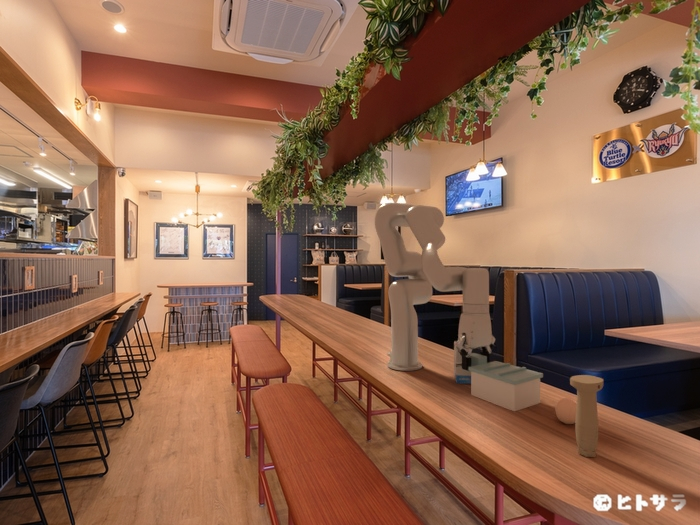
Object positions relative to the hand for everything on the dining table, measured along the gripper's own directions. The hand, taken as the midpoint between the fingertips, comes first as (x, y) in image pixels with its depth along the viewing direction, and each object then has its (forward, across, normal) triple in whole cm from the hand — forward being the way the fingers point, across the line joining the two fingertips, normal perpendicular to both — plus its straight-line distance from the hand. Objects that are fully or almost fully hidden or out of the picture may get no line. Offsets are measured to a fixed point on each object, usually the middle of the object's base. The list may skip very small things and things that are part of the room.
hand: (475, 367), depth 115 cm
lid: (-1, 0, +7) cm, 8 cm away
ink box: (+7, -3, -8) cm, 11 cm away
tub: (+6, 0, +10) cm, 12 cm away
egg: (+7, +1, +28) cm, 29 cm away
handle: (+7, +12, +38) cm, 40 cm away
